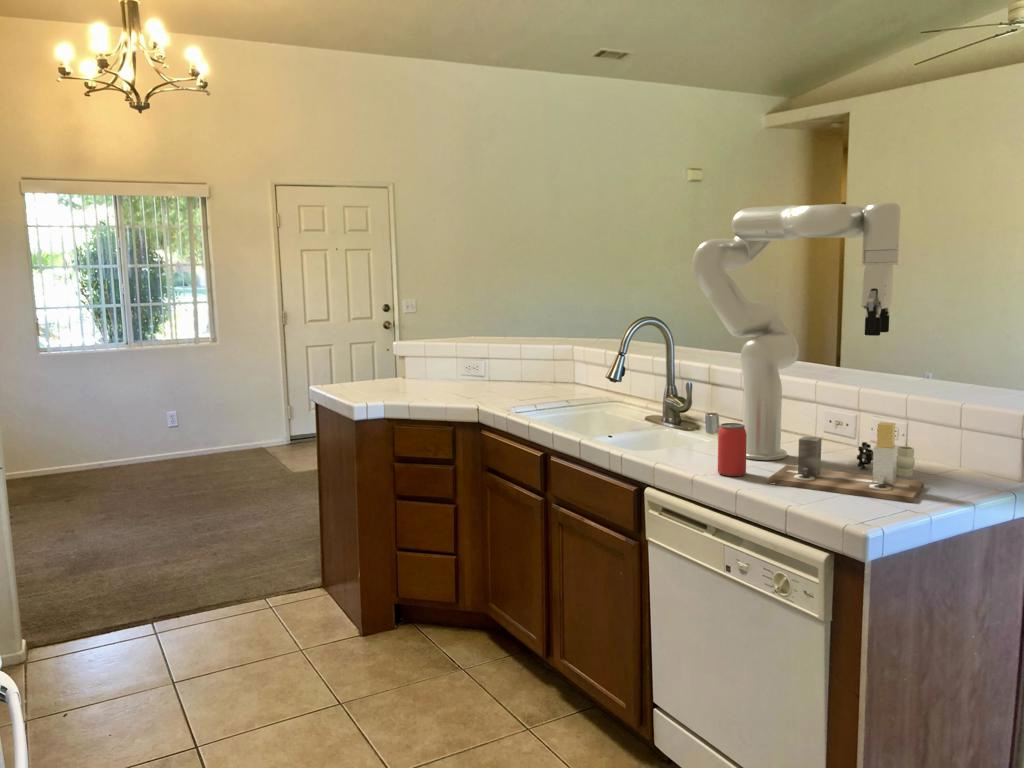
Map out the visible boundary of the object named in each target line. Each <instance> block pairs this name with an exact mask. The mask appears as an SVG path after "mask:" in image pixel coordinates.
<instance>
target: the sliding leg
mask: <svg viewBox="0 0 1024 768" xmlns="http://www.w3.org/2000/svg"><path fill="white" fill-rule="evenodd" d="M876 438H877V439H876V444H875V445H874V446H873V453H874V456H873V461H872V462H873V463H872V476H873V480H872V482H873V483H878V485H880V486H882V484H889V485H893V483H894V482H895V481H896V479H897V474H896V463H897V455H898V454H897V447H898V445H897V444H895V442H896V440H895V439H896V422H886V421H885V422H884V421H880V422H878V424H877V436H876Z"/></svg>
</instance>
